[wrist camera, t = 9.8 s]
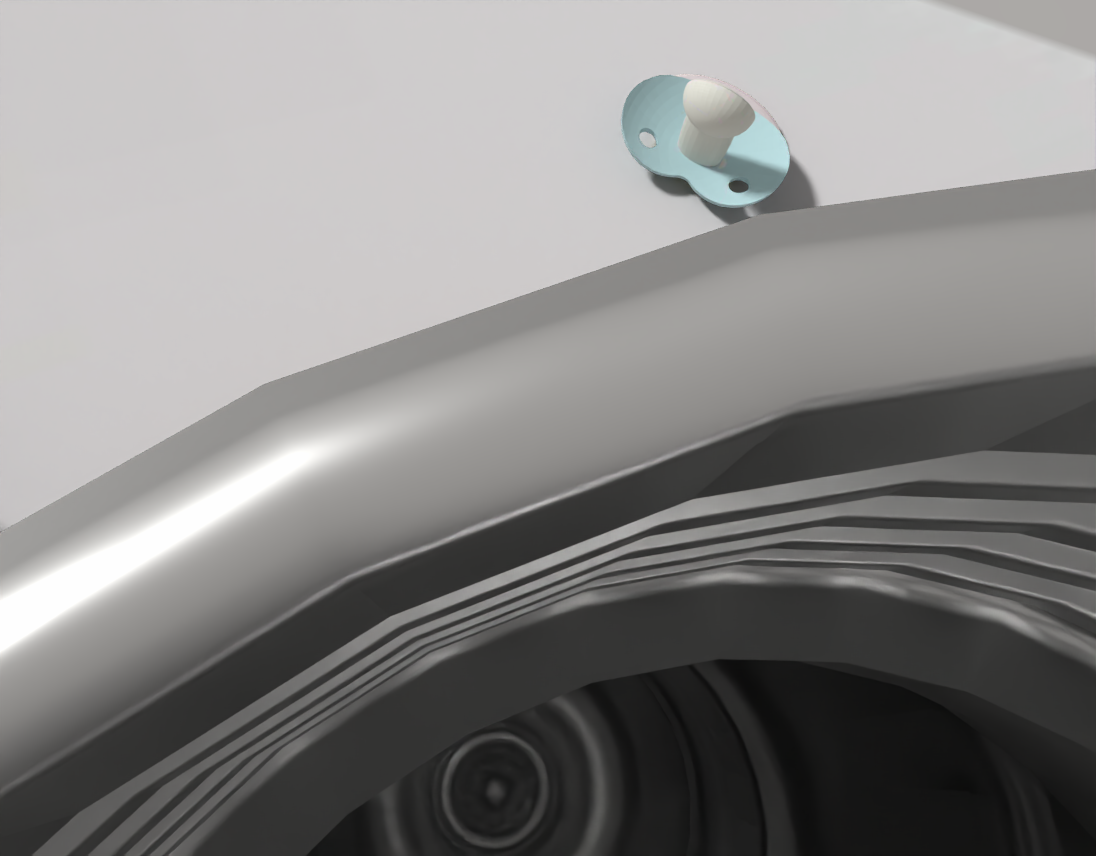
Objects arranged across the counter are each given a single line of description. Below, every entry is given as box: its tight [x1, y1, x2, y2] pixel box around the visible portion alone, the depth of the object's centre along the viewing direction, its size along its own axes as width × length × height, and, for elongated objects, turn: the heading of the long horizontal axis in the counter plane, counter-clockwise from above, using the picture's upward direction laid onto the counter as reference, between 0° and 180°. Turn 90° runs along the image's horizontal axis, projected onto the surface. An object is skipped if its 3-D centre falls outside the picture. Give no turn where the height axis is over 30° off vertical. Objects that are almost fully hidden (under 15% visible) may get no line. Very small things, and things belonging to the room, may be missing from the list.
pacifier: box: [621, 74, 790, 208], centre depth 43 cm, size 7×6×6 cm
